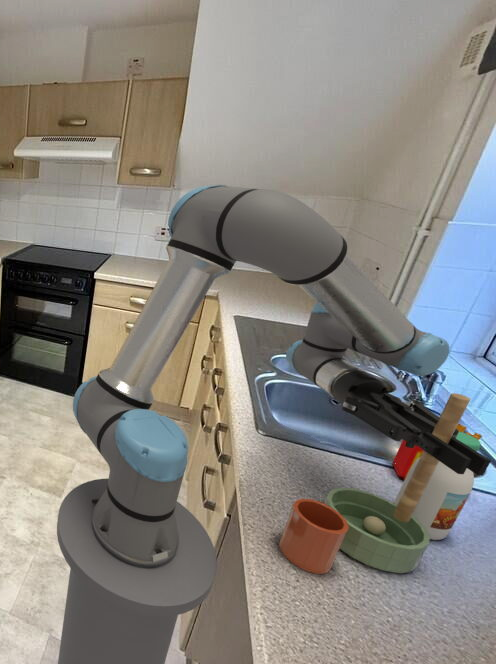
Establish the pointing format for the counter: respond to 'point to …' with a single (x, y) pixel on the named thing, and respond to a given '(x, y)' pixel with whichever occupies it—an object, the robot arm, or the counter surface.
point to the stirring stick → (430, 457)
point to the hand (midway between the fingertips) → (474, 467)
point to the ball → (374, 525)
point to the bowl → (384, 549)
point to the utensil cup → (313, 535)
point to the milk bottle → (443, 494)
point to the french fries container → (415, 455)
